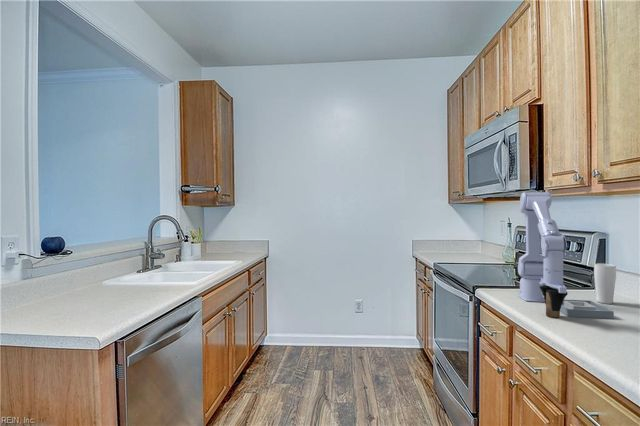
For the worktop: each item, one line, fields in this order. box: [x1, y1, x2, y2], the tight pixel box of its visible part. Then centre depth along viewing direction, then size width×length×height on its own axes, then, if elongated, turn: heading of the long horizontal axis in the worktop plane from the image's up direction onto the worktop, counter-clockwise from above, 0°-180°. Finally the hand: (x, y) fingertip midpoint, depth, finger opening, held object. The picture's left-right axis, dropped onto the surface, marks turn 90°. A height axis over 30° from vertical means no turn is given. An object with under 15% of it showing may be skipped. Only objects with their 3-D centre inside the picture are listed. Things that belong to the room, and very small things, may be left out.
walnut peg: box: [545, 292, 561, 319], centre depth 121 cm, size 4×4×8 cm
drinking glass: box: [593, 263, 617, 305], centre depth 138 cm, size 7×7×15 cm
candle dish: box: [560, 298, 615, 320], centre depth 127 cm, size 14×14×3 cm
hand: (552, 308), depth 121 cm, fingers closed on walnut peg, 4 cm apart
